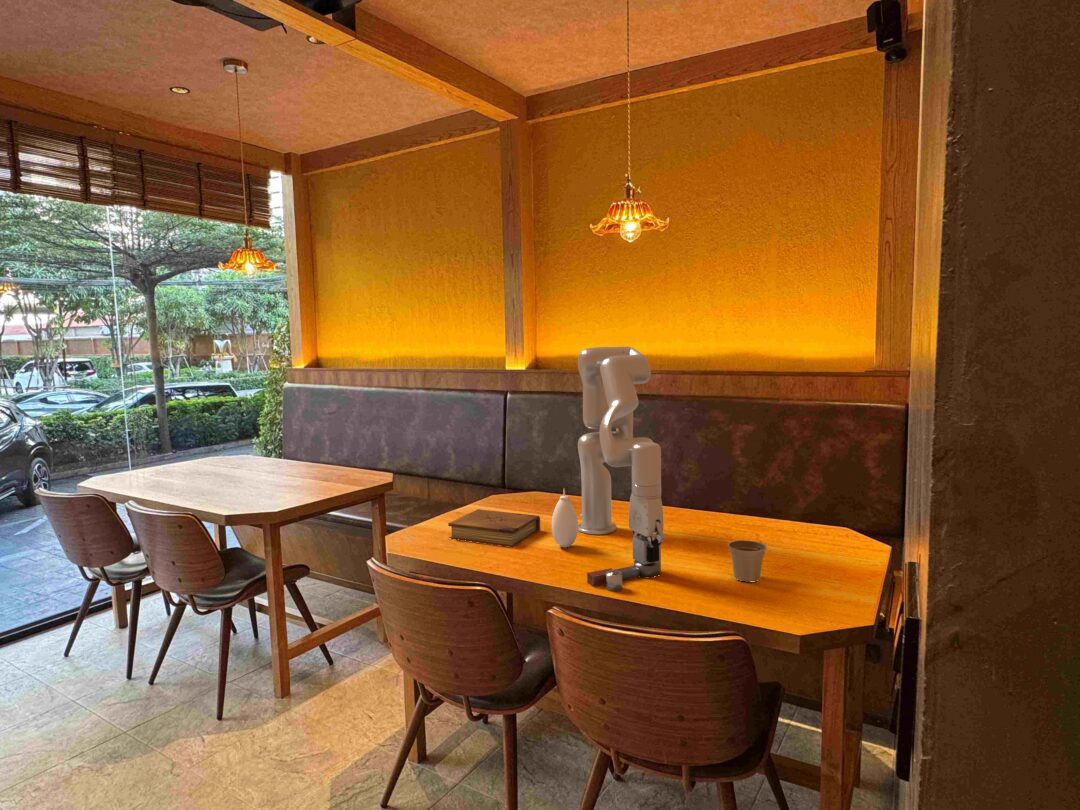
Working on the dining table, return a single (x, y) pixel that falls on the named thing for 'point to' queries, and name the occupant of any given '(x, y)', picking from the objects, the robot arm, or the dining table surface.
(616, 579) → the socket
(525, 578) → the dining table surface
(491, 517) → the diary
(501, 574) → the dining table surface
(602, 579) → the ratchet
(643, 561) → the socket
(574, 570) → the dining table surface
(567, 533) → the white air blower bulb
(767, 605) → the dining table surface
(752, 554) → the flower pot
